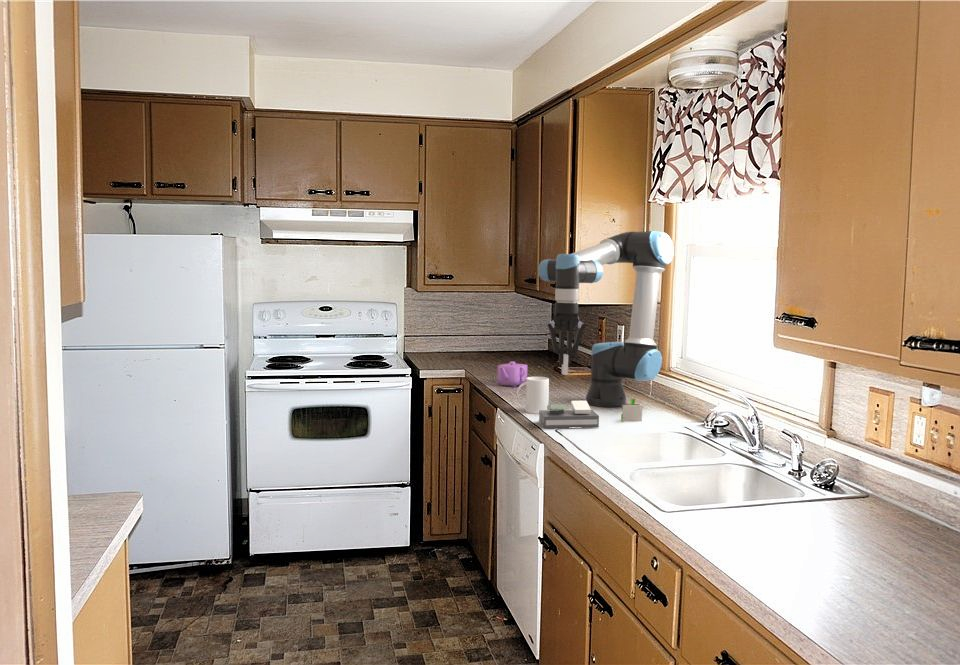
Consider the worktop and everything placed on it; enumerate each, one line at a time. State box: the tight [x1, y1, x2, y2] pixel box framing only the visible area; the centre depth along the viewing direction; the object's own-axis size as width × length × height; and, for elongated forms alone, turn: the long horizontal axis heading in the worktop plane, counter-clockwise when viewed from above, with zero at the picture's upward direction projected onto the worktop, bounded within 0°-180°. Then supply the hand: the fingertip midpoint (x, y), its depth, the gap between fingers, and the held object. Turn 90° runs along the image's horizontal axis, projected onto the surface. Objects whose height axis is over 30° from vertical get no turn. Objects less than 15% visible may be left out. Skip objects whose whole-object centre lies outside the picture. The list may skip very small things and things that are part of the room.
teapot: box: [496, 360, 528, 388], centre depth 342 cm, size 18×14×10 cm
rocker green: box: [547, 404, 568, 410], centre depth 268 cm, size 5×7×1 cm
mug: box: [516, 376, 550, 415], centre depth 289 cm, size 12×8×12 cm
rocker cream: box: [570, 400, 592, 414], centre depth 268 cm, size 5×7×1 cm
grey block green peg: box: [620, 397, 643, 422], centre depth 276 cm, size 4×7×8 cm, turn 102°
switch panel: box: [538, 409, 600, 430], centre depth 268 cm, size 18×10×5 cm, turn 95°
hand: (564, 374), depth 263 cm, fingers closed
